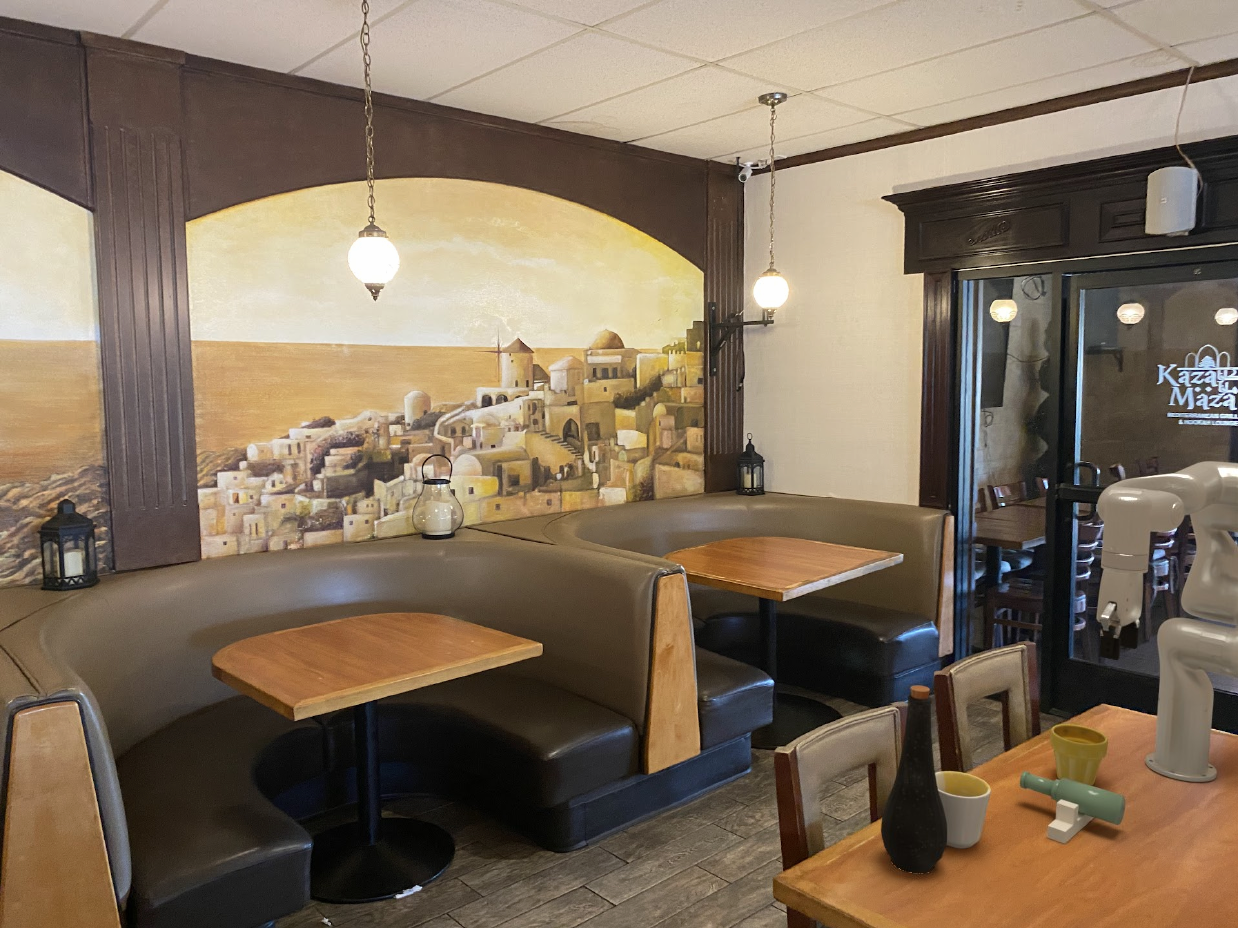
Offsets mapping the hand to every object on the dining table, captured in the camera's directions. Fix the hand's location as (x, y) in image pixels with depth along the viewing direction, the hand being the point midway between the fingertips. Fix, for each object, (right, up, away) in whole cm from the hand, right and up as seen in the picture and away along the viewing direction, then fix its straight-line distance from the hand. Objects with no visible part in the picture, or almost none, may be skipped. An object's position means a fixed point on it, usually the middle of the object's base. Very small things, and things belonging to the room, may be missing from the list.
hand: (1118, 652), depth 172 cm
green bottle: (-3, -26, -7) cm, 28 cm away
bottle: (-43, -32, -16) cm, 56 cm away
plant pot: (0, -29, +16) cm, 33 cm away
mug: (-31, -31, -8) cm, 45 cm away
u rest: (-9, -31, -2) cm, 32 cm away
